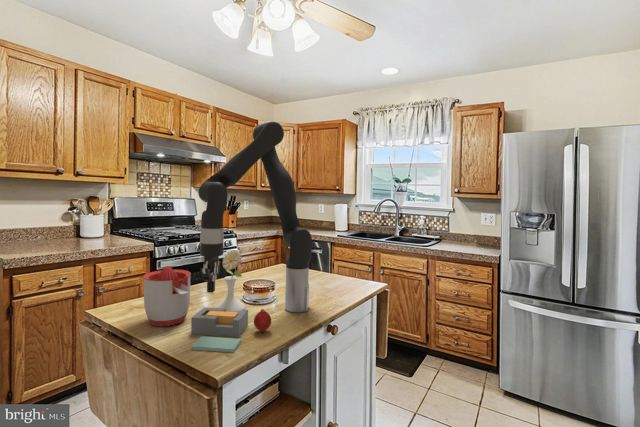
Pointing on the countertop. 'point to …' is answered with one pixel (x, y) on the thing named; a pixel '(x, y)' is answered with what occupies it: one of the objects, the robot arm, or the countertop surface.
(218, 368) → the countertop surface
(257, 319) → the onion
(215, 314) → the plank
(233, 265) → the flower in vase
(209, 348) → the mat
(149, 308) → the citrus juicer
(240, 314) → the kitting block
